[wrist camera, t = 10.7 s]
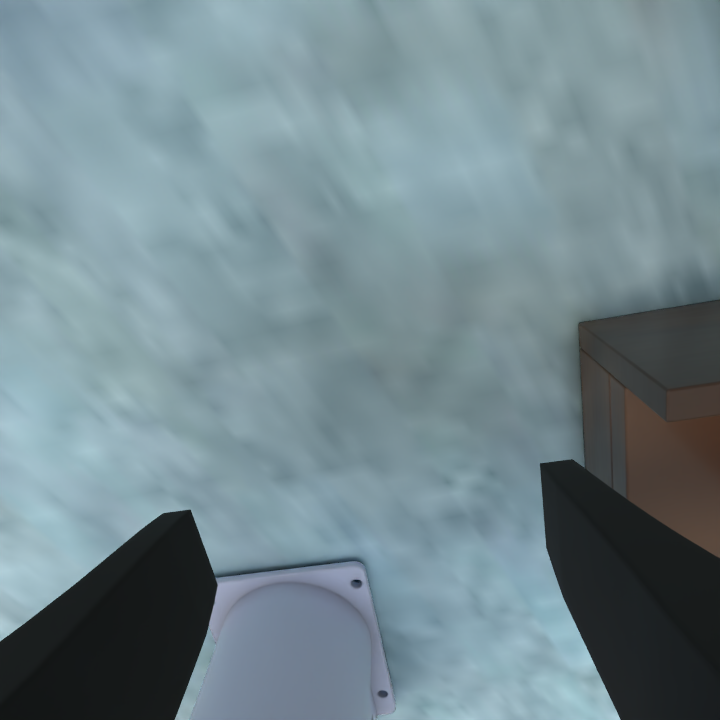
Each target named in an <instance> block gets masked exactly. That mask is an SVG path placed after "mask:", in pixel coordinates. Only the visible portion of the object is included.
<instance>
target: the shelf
mask: <svg viewBox="0 0 720 720" xmlns="http://www.w3.org/2000/svg"><path fill="white" fill-rule="evenodd" d="M579 344H580V347H581V348H580V363H581V384H582V405H583V426H584V447H585V468H586V470H588V471H589V472H590V473H592V474H593V475H595V476H596V477H597V478H599V479H600V480H601V481H603V482H604V483H605V484H607V485H608V486H610V487H611V488H612V489H614V490H615V491H616V492H618V493H619V494H621V495H622V496H623V497H625V498H626V499H628V500H629V501H630V502H632V503H633V504H635V505H636V506H638V507H639V508H641V509H642V510H644V511H645V512H646V513H648V514H649V515H651V516H652V517H654V518H655V519H657V520H658V521H660V522H661V523H663V524H665V525H666V526H668V527H669V528H671V529H672V530H674V531H675V532H677V533H679V534H680V535H682V536H684V537H685V538H687V539H689V540H690V541H692V542H693V543H695V544H697V545H698V546H700V547H702V548H703V549H705V550H707V551H708V552H710V553H712V554H713V555H715V556H717V557H719V558H720V300H717V301H711V302H705V303H699V304H692V305H686V306H680V307H674V308H668V309H662V310H656V311H649V312H643V313H637V314H631V315H625V316H619V317H613V318H606V319H600V320H594V321H588V322H582V323H579Z"/></svg>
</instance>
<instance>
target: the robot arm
mask: <svg viewBox="0 0 720 720" xmlns="http://www.w3.org/2000/svg"><path fill="white" fill-rule="evenodd" d="M540 470H541V483H542V496H543V509H544V522H545V535H546V548H547V551H548V554H549V557H550V560H551V563H552V566H553V569H554V572H555V575H556V578H557V581H558V584H559V587H560V589H561V592H562V595H563V598H564V600H565V602H566V604H567V606H568V609H569V611H570V613H571V615H572V617H573V619H574V621H575V624H576V626H577V628H578V630H579V632H580V634H581V636H582V639H583V641H584V643H585V645H586V647H587V649H588V651H589V653H590V655H591V658H592V660H593V662H594V664H595V666H596V668H597V670H598V672H599V674H600V677H601V679H602V681H603V683H604V685H605V687H606V689H607V691H608V693H609V696H610V698H611V700H612V702H613V704H614V706H615V708H616V710H617V712H618V715H619V717H620V719H621V720H720V558H719V557H717V556H715V555H713V554H712V553H710V552H708V551H707V550H705V549H703V548H702V547H700V546H698V545H697V544H695V543H693V542H692V541H690V540H689V539H687V538H685V537H684V536H682V535H680V534H679V533H677V532H675V531H674V530H672V529H671V528H669V527H668V526H666V525H665V524H663V523H661V522H660V521H658V520H657V519H655V518H654V517H652V516H651V515H649V514H648V513H646V512H645V511H644V510H642V509H641V508H639V507H638V506H636V505H635V504H633V503H632V502H630V501H629V500H628V499H626V498H625V497H623V496H622V495H621V494H619V493H618V492H616V491H615V490H614V489H612V488H611V487H610V486H608V485H607V484H605V483H604V482H603V481H601V480H600V479H599V478H597V477H596V476H595V475H593V474H592V473H590V472H589V471H588V470H586V469H585V468H584V467H582V466H581V465H580V464H578V463H577V462H575V461H574V460H573V459H571V460H563V461H556V462H548V463H540ZM355 579H356V580H360V582H354V581H353V580H355ZM208 626H209V627H210V630H211V633H212V635H213V638H214V641H215V643H216V646H215V649H214V652H213V655H212V658H211V660H210V663H209V666H208V669H207V672H206V674H205V677H204V680H203V683H202V686H201V689H200V691H199V694H198V697H197V700H196V703H195V705H194V708H193V711H192V714H191V717H190V720H376V716H377V715H388V714H391V713H393V712H394V711H395V709H396V700H395V696H394V692H393V687H392V683H391V678H390V674H389V670H388V665H387V661H386V656H385V652H384V648H383V643H382V639H381V634H380V630H379V626H378V621H377V617H376V612H375V608H374V604H373V599H372V595H371V590H370V586H369V582H368V577H367V573H366V569H365V566H364V565H363V564H362V563H360V562H358V561H350V562H342V563H333V564H325V565H317V566H309V567H301V568H293V569H284V570H276V571H268V572H260V573H252V574H244V575H235V576H227V577H219V578H215V576H214V573H213V570H212V567H211V565H210V562H209V559H208V556H207V554H206V551H205V548H204V545H203V543H202V540H201V537H200V534H199V532H198V529H197V526H196V523H195V521H194V518H193V515H192V512H191V510H185V511H177V512H170V513H163V514H162V515H160V516H159V517H157V518H156V519H155V520H153V521H152V522H151V523H149V524H148V525H147V526H145V527H144V528H143V529H142V530H140V531H139V532H138V533H137V534H135V535H134V536H133V537H132V538H130V539H129V540H128V541H127V542H126V543H124V544H123V545H122V546H121V547H120V548H118V549H117V550H116V551H115V552H114V553H112V554H111V555H110V556H109V557H107V558H106V559H105V560H104V561H103V562H101V563H100V564H99V565H98V566H97V567H95V568H94V569H93V570H92V571H91V572H89V573H88V574H87V575H86V576H84V577H83V578H82V579H81V580H80V581H78V582H77V583H76V584H75V585H74V586H72V587H71V588H70V589H68V590H67V591H66V592H65V593H63V594H62V595H61V596H59V597H58V598H57V599H56V600H54V601H53V602H52V603H50V604H49V605H48V606H47V607H45V608H44V609H43V610H41V611H40V612H39V613H38V614H36V615H35V616H34V617H32V618H31V619H30V620H29V621H27V622H26V623H25V624H23V625H22V626H21V627H19V628H18V629H17V630H15V631H14V632H13V633H11V634H10V635H9V636H7V637H6V638H4V639H3V640H2V641H0V720H175V717H176V715H177V712H178V709H179V707H180V704H181V701H182V699H183V696H184V694H185V691H186V688H187V686H188V683H189V680H190V678H191V675H192V672H193V670H194V667H195V664H196V662H197V659H198V656H199V653H200V651H201V648H202V645H203V642H204V640H205V637H206V634H207V630H208Z"/></svg>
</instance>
